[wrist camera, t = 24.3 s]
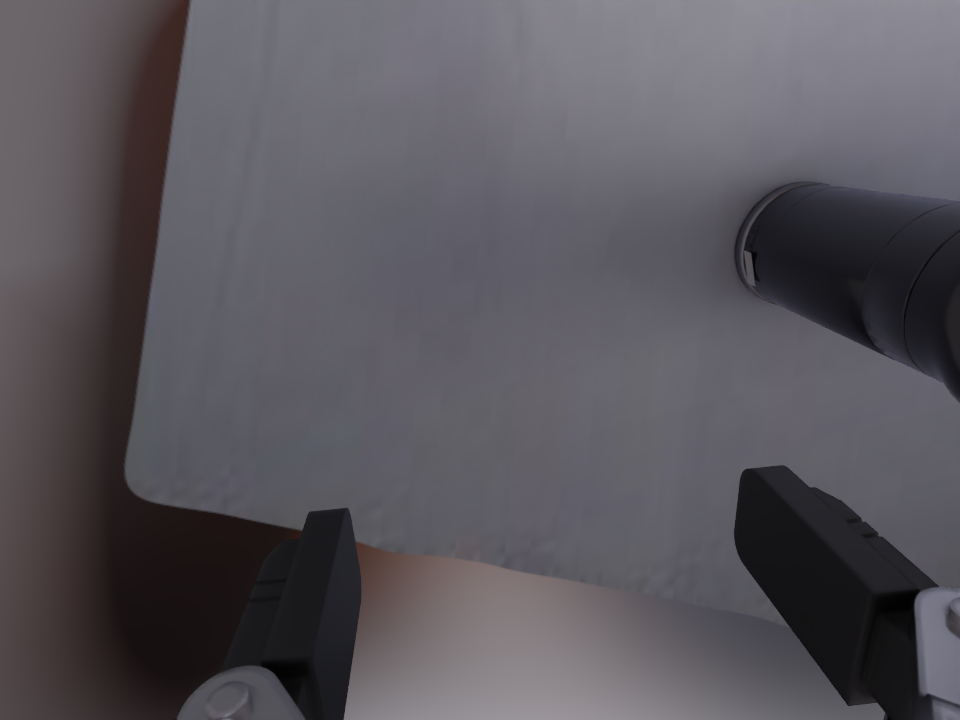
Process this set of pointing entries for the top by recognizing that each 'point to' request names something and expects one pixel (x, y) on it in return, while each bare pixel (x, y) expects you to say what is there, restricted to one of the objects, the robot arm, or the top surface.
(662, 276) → the top surface
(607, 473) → the top surface
